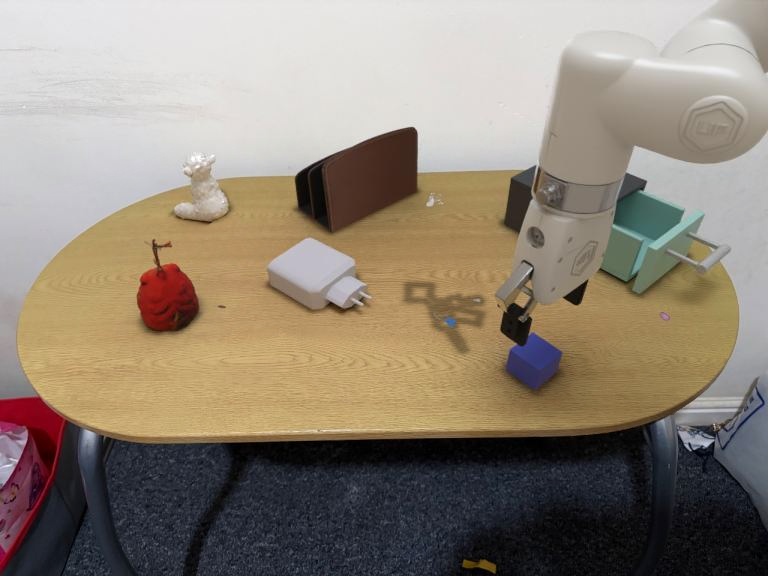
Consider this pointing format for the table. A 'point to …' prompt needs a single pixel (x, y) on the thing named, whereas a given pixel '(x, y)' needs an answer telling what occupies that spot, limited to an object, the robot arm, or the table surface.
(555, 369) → the cube
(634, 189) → the housing
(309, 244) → the charger
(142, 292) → the red lumpy rounded piece
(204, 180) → the sitting furry creature
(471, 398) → the table surface
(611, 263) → the mint green drawer
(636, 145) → the robot arm
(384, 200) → the letter holder
